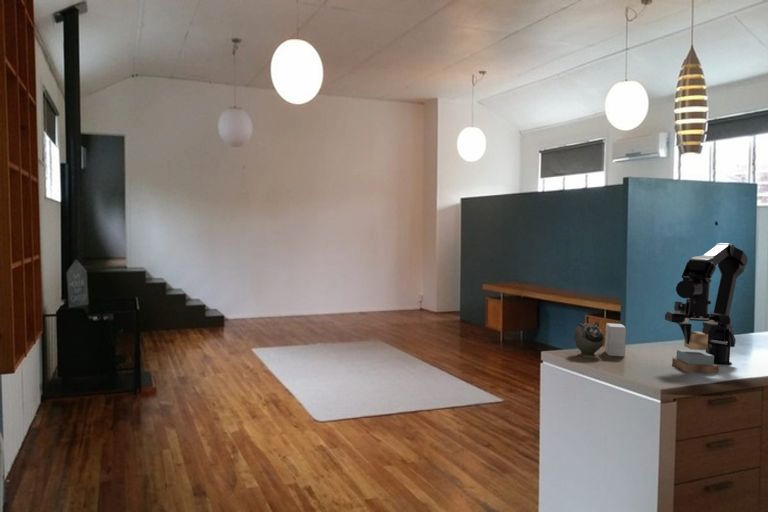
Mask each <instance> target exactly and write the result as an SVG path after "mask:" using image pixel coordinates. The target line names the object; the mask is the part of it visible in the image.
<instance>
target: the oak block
mask: <svg viewBox="0 0 768 512" xmlns="http://www.w3.org/2000/svg"><path fill="white" fill-rule="evenodd" d="M683 340H684V343H683V344H684V345H683V346H684V348H687V349H688V350H697V351H706V350H707V347H708V334H705V333H703V331H692V330H691V334H690V341H689V344H686V341H685V339H683Z"/></svg>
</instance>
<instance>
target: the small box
mask: <svg viewBox="0 0 768 512" xmlns="http://www.w3.org/2000/svg"><path fill="white" fill-rule="evenodd" d="M626 335H627V327H626V326H625V325H624V324H622V323H609V322H606V324H605V336H604V352H605V353H606V354H607V356H610V357H626V342H627V341H626V340H627V339H626V337H627V336H626Z"/></svg>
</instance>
